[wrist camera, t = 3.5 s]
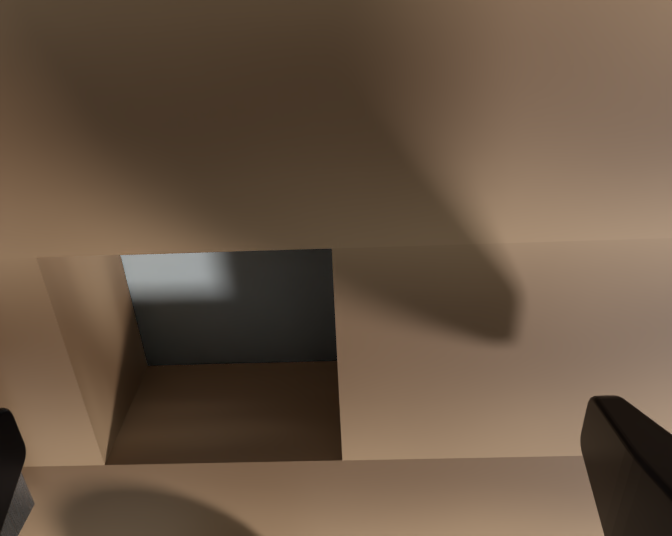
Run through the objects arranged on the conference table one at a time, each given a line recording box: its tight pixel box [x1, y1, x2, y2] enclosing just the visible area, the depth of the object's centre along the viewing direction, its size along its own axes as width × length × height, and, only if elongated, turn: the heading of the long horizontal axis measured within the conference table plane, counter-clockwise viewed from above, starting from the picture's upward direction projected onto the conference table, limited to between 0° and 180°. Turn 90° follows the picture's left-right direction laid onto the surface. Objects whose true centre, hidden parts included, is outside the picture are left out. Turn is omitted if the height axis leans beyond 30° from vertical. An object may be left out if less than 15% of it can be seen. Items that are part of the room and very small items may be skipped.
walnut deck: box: [0, 0, 672, 536], centre depth 14 cm, size 22×20×3 cm
